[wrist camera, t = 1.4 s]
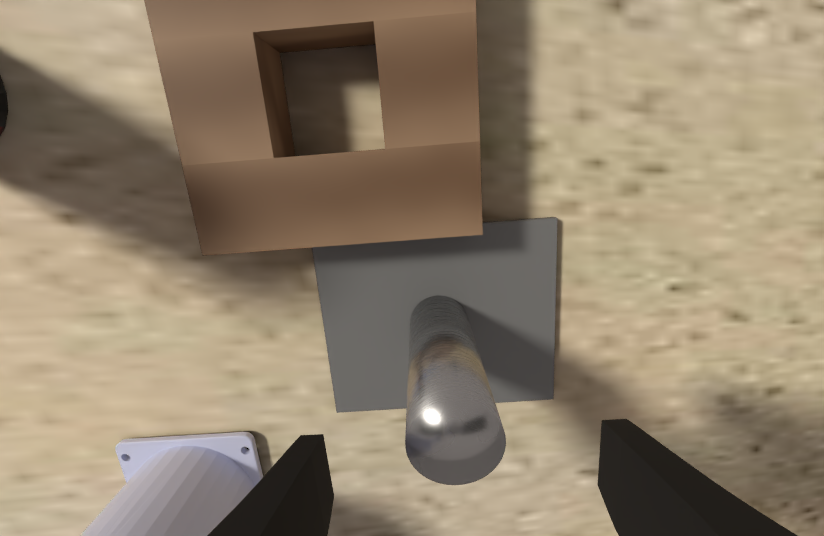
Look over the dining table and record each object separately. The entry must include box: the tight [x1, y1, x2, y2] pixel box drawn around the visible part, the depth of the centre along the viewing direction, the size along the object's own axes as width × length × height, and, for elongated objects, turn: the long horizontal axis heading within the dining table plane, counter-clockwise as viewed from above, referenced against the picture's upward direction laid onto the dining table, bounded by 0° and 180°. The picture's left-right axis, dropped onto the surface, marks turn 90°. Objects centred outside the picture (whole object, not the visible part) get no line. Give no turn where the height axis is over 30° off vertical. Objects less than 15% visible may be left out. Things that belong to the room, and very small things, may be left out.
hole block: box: [144, 0, 483, 256], centre depth 17 cm, size 12×12×3 cm
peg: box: [405, 295, 506, 485], centre depth 16 cm, size 3×3×9 cm
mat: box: [312, 217, 557, 413], centre depth 21 cm, size 10×12×1 cm
